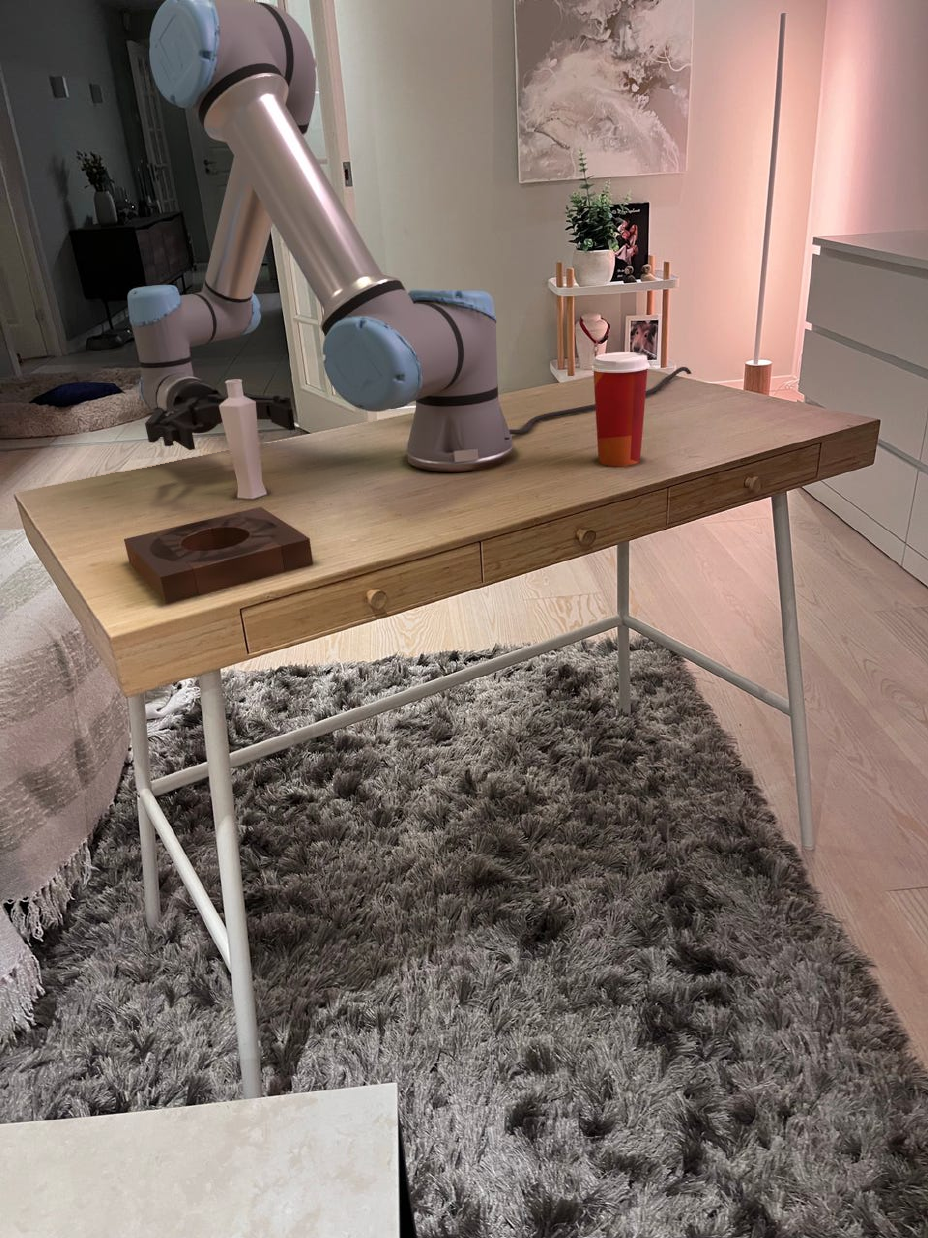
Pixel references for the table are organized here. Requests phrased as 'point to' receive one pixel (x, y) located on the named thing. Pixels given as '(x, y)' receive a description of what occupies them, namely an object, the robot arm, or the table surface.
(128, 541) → the socket pad
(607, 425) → the paper cup
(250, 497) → the perfume bottle
